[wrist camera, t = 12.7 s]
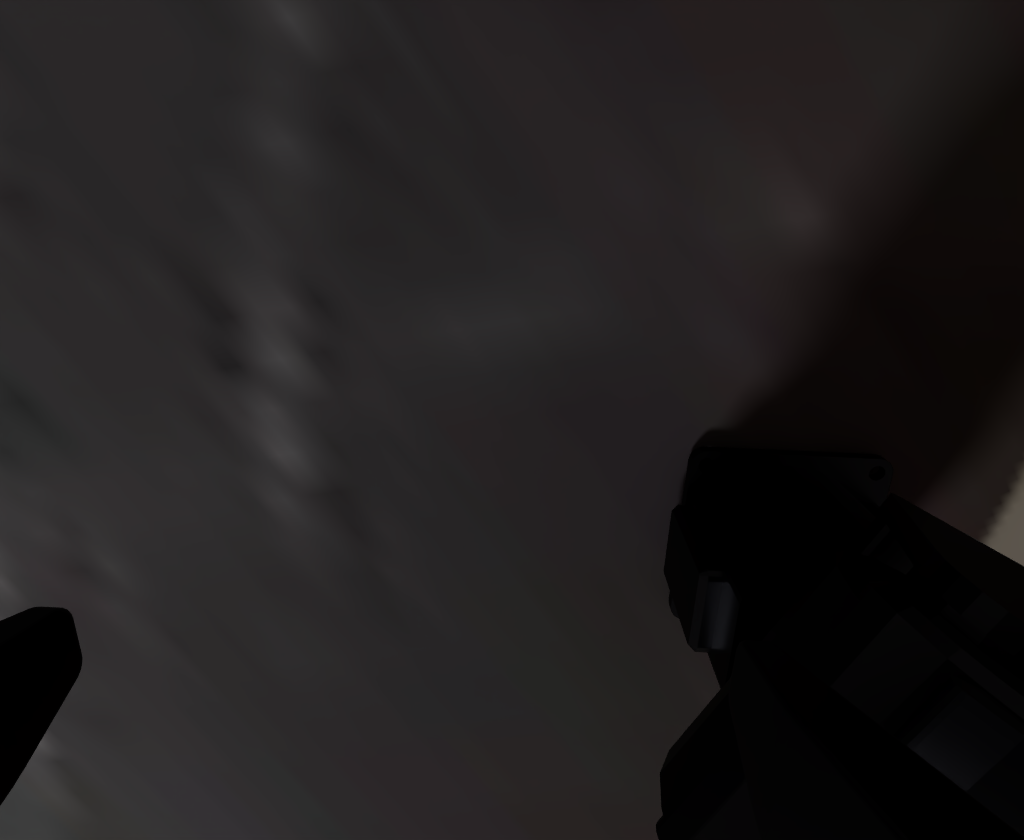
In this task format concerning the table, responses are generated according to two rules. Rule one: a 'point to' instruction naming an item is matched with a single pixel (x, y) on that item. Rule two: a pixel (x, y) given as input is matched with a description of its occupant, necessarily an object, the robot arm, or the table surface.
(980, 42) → the table surface
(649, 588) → the table surface
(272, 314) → the table surface
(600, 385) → the table surface
